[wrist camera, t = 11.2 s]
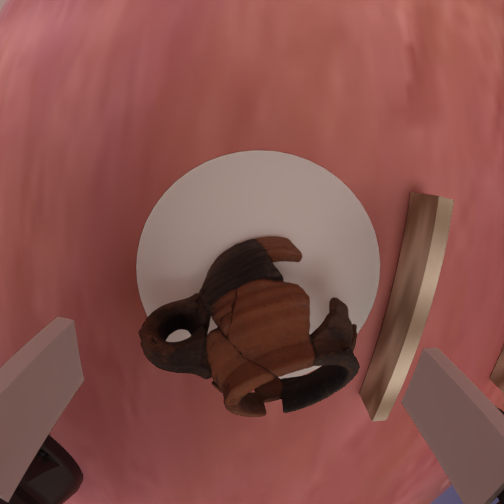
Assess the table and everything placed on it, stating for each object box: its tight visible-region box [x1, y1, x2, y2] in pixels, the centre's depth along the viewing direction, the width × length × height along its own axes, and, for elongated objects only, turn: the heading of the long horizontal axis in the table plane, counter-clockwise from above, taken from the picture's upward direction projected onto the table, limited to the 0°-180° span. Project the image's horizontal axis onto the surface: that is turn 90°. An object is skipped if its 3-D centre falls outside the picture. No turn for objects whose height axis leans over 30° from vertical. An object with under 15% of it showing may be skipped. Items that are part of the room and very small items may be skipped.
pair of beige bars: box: [359, 192, 504, 421], centre depth 19 cm, size 16×17×4 cm
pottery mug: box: [139, 236, 360, 417], centre depth 17 cm, size 12×9×8 cm
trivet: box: [136, 150, 380, 379], centre depth 19 cm, size 16×16×1 cm
